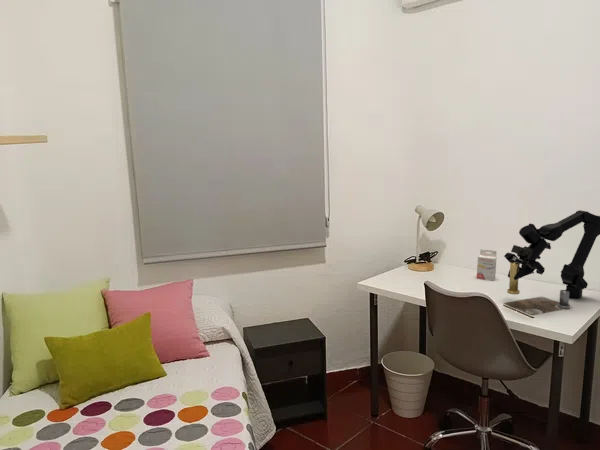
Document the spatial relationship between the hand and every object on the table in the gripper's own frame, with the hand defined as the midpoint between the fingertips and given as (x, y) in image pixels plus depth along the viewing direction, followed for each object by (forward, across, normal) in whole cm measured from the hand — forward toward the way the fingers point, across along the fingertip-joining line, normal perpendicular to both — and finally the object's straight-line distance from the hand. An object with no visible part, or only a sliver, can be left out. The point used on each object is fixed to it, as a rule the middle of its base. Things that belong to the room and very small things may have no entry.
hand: (511, 278), depth 206 cm
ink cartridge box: (-3, -41, +23) cm, 47 cm away
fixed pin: (-5, +9, +22) cm, 25 cm away
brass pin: (+4, 0, +6) cm, 7 cm away
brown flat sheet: (+2, +4, +17) cm, 18 cm away
